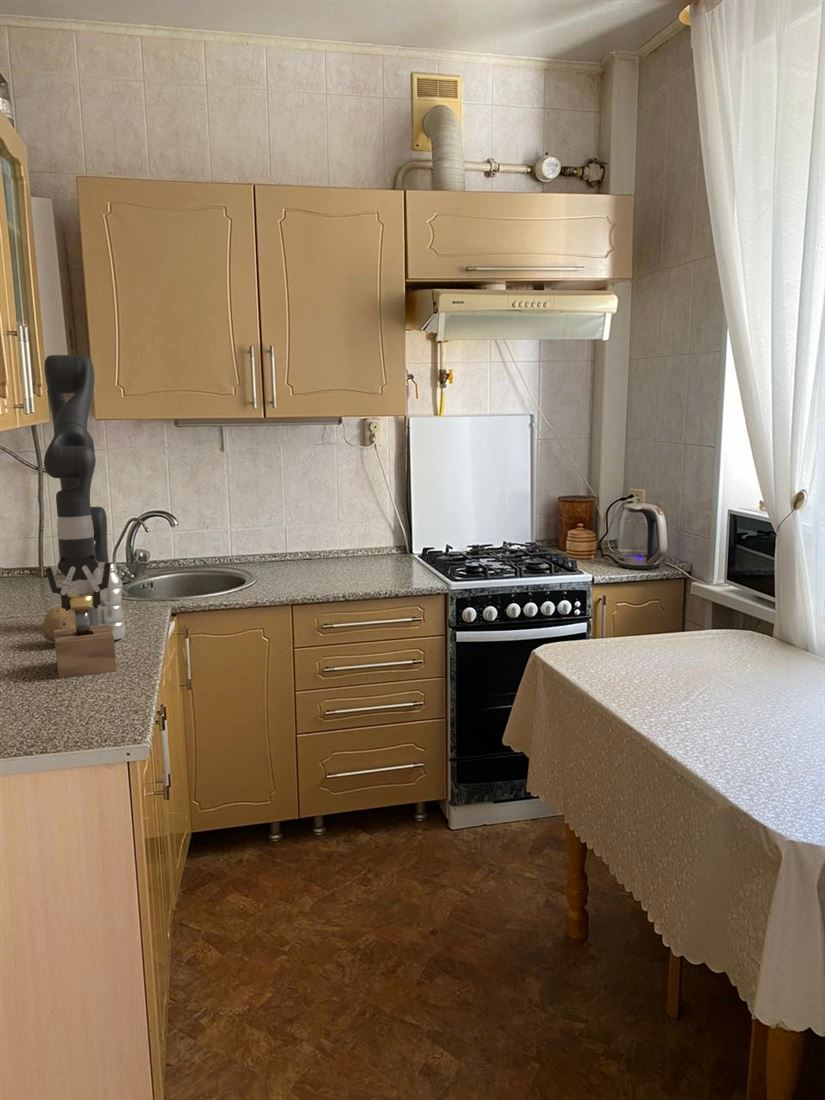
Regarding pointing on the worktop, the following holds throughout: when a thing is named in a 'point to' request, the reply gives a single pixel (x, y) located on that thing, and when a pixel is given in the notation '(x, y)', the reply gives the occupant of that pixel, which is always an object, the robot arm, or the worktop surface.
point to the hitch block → (85, 651)
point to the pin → (81, 611)
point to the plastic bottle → (112, 604)
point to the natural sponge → (57, 622)
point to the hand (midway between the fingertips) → (81, 608)
